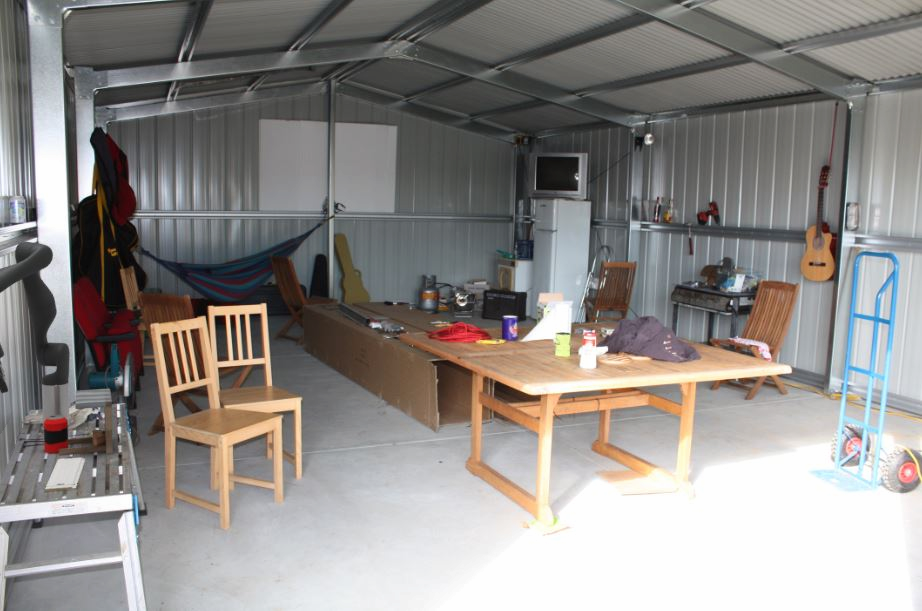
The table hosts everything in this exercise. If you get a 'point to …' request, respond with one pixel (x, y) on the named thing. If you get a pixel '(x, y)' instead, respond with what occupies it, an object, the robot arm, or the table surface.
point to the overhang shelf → (100, 437)
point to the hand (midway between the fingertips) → (5, 391)
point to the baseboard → (65, 474)
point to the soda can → (55, 434)
